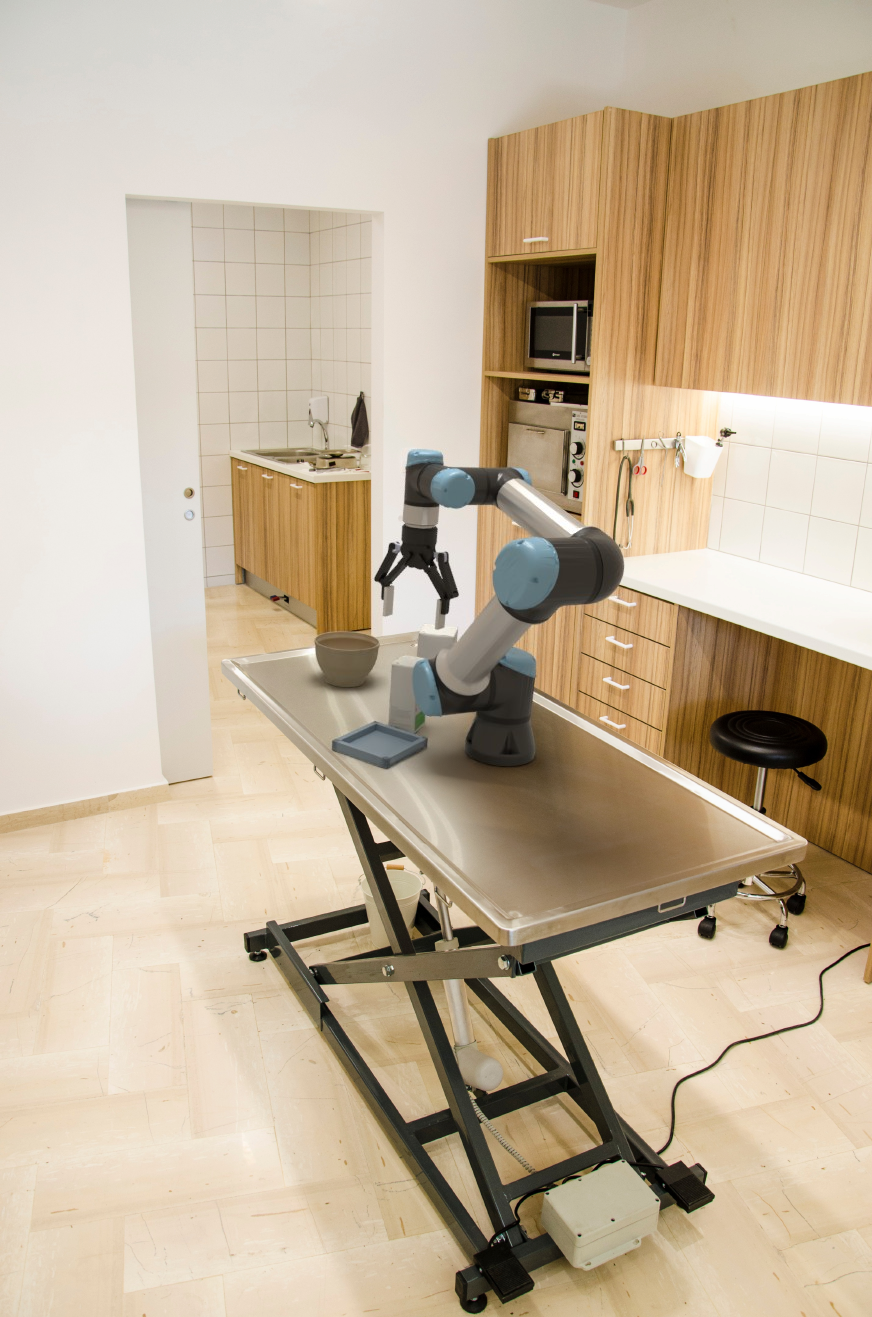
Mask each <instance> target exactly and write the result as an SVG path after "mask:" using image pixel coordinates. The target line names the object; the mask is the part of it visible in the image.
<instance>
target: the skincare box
mask: <svg viewBox="0 0 872 1317" xmlns="http://www.w3.org/2000/svg"><path fill="white" fill-rule="evenodd" d="M423 659H426V658H419V657H417V656H411V655H406V654H403V655H402V656H401V657H399V658H396V660H395V661H393V662H391V670H390V672H391V674H390V686H389V687H390V691H389V708H388V724H387V725H389V726H392V727H395V728H398V729H401V730H404V731H407V732H410V733H414V734H416V733H417V732H418V731H419V730H420V729H421V728H422V727H423V726H424V725H425V724H426V717H427V716H426V715H425V714H424V713H423V712H422V711H421V710H420V709H419V707H418V705H417V702H416V699H415V696H414V691H413V681H412V675H413V668H414V666H415V664H416V662H417V661H419V660H423Z"/></svg>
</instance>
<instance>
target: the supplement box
mask: <svg viewBox="0 0 872 1317" xmlns="http://www.w3.org/2000/svg"><path fill="white" fill-rule="evenodd" d="M458 634H459V627H456V626H449V625H445V627H444V628H442V629H439V630H436V629H435V623H434V624H432V623H424V624H423V625H422V627H421V629H420V630H419V632H418V636H417V637H418V638H417V650H416V657H419V658H426V659H433V658H435V657H436V656H437V654H438V653H439V652H440V650H441V649H443V648H444V647H445V646H447V645H449V644H452V643H457V642H458Z"/></svg>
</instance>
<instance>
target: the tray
mask: <svg viewBox="0 0 872 1317" xmlns="http://www.w3.org/2000/svg"><path fill="white" fill-rule="evenodd" d="M331 741H332V742H331V750H332V751H334V750H336V751H335V752H337V751H338V753H340V754H342V755H343V754H344V756H348V757H351V758H354V759H357V760H358V761H363V762H365V763H369V764H371V765H374V766H375V767H376V766H377V767H380V768H382V769H385V770H387V769H389V768H391V767H394V766H395V765H396V764H398V763H400V762H402V761H404V760H406V759H408V758H409V757H411V756H412V757H413V755H416V754H417V753H418V752H421V751H423V750H424V749H426V748H428V743H429V742H428V741H429V740H428V737H425V736H422V735H419V734H416V733H410V732H407V731H404V730H401V729H398V728H395V727H392V726H389V725H388V724H385V723H382V722H381V721H376V720H374V721H372V722H370V723H367V724H365V725H363V726H361V727H359V728H356V729H354V730H352V731H350V732H347V733H346V734H343V735H341V736H339V737H337V738H335V739H333V740H331Z"/></svg>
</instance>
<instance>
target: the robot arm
mask: <svg viewBox="0 0 872 1317" xmlns="http://www.w3.org/2000/svg"><path fill="white" fill-rule="evenodd" d="M406 458H407V459H406V464H405V467H404V468H405V474H404V477H405V479H404V495H403V497H404V498H403V499H404V500H403V508H402V522H403V525H402V526H401V542H402V543H401V544H400V542H399V541H393V542H389V543H388V547H387V553H386V555H385V557H383V558H384V559H383V560H382V562H381V564H380V566H379V568H378V570H377V572H376V574H375V576H374V578H373V579H374V580H373V581H375V583H379V584H380V586H381V592H380V593H381V594H380V599H381V600H382V601H383V604H382V617H384V618H386V617H388V616H393V611H394V610H393V609H394V598H395V597H394V596H395V585H392V584H393V582H394V581H395V580H396V579H397V578H398V577H399V576H400V575H401V574H402V573H403V572H404V570H405V569H407V567H408V568H411V569H413V568H415V569H416V570H420V571H421V570H423V572H424V573H425V574H426V575H427V577H428V578H429V580H430V582H431V584H432V585H433V587H434V589H435V591H436V593H437V595H438V597H439V598H437V599H436V610H435V620H434V622H435V623H434V625H435V629H436V630H439V629H442V628H444V627H445V626H446V625H445V623H446V615H448V614H449V613H450V603H451V600H452V599H457V598H458V597H459V596H460V593H459V590H458V586H457V583H456V581H455V578H454V574H453V571H452V568H451V565H450V562H449V561H450V558H449V557H450V555H449V551H442V552H441V551H439V552H437V550H436V547H437V546H436V545H437V543H438V531H439V530H438V527H437V525H438V524H439V518H440V517H439V516H440V506H442V507H444V508H448V509H456V510H458V509H463V508H464V507H465V506H495V507H496V508H497V509H498V510H500V511H501V512H502V513H503V514H505V516H507V517H509V518H510V519H511V520H512V521H513V522H514V523H516V525H519V527H520V528H522V530H524V531H526V532H527V533H528V534H529V535H530V537H524V538H517V539H514V540H511V541H509V542H508V543H506V544H505V545H504V546H503V547H502V548H501V549H500V551H499V553H498V554H497V556H496V558H495V561H494V567H495V568H494V569H493V570H492V587H493V590H494V594H493V596H492V597H491V599H489V601H488V602H487V604H486V605H485V606H484V607H483V609H482V610H481V612H480V613H479V614H478V615H477V616H476V618H475V619H474V620H473V622H471V624H470V625H469V626H468V628H467V629H466V630H465V631H464V633H463V634H462V635H461V636H460V638H459V639H457V643H452V644H449V645H447V646H445V647H444V648H443V649H441V650H440V652H439V653H438V654H437V656H436V657H435V658H433V659H423V660H419V661H417V662H416V664H415V666H414V668H413V675H412V681H413V691H414V696H415V699H416V702H417V705H418V707H419V709H420V710H421V711H422V712H423V713H424V714H425V715H426V716H425V717H430V718H431V717H440V718H442V717H444V716H451V715H453V716H454V715H460V714H461V715H462V714H468V713H475V716H474V719H473V721H472V723H471V725H470V726H469V729H468V731H467V734H466V736H465V740H464V747H463V750H464V752H465V754H466V755H467V756H468V757H469V758H471V759H473V760H475V761H477V762H480V763H483V764H486V765H490V766H491V765H492V766H497V767H516V766H523V765H526V764H528V763H531V762H532V761H533V760H534V759H535V755H536V754H535V753H536V742H535V739H534V732H533V729H532V725H531V718H532V717H531V716H532V708H533V700H534V691H535V686H536V685H535V682H536V678H537V660H536V658H535V657H534V655H533V654H532V653H530V652H528V651H527V650H524V649H521V648H518V647H516V646H515V645H516V643H517V642H518V641H519V640H520V639H521V638H522V637H523V636H524V634H525V633H526V632H527V631H528V630H529V629H530V628H531V627H532V625H534V626H535V625H541V624H543V623H545V622H547V621H549V619H550V618H551V617H552V616H554V614H555V613H556V612H557V611H558V610H559V609H560V608H562V607H564V606H566V607H567V606H578V605H579V606H580V605H591V604H597V603H599V602H602V601H603V600H605V599H607V598H609V597H610V596H611V595H612V594H613V593H614V592H615V591H616V590H617V589H618V587H619V586H620V584H621V581H622V579H623V577H624V572H625V560H624V555H623V552H622V550H621V548H620V546H619V544H618V543H617V542H616V541H615V540H614V539H613V538H612V537H611V536H609V535H608V534H607V533H606V532H604V531H603V530H601V529H600V528H599V527H597V526H594V525H593V526H592V525H589V526H587V525H585V524H584V523H582V522H581V521H580V520H578V519H577V518H575V517H574V516H572V515H571V514H570V513H568V512H567V511H566V510H564V508H562V507H561V506H559V505H558V504H556V503H555V502H554V501H552V500H551V499H550V498H548V497H546V495H544V494H543V493H542V492H540V491H539V490H537V489H536V488H535V487H533V481H532V478H531V477H530V474H529V472H528V471H527V470H525V469H524V468H518V467H512V466H506V467H480V466H479V467H472V466H471V467H469V466H468V467H467V466H465V467H464V466H447V465H445V464H444V455H443V453H442V451H438V450H434V449H426V448H425V449H423V448H422V449H421V448H417V449H416V448H415V449H411V450H409V451H408V453H407V457H406ZM399 553H400V554H401V555H402V557H401V559H399V561H397V564H396V565H395V566H394V567H393V568H392V566H393V564H394V562H395V560H396V559H397V556H398V554H399ZM436 562H437V564H436ZM437 565H438V566H437ZM438 569H439V570H438Z"/></svg>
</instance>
